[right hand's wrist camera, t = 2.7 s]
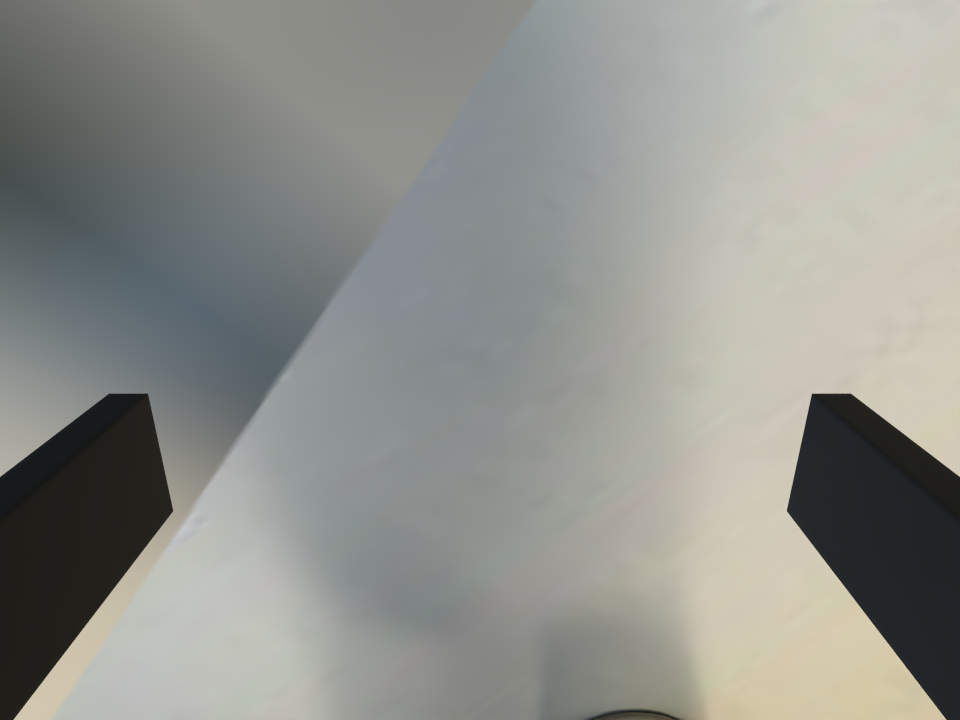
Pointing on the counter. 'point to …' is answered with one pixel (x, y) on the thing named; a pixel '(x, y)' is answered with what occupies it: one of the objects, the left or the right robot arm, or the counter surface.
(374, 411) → the counter surface
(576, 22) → the counter surface
